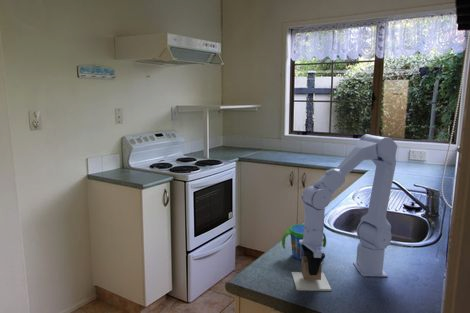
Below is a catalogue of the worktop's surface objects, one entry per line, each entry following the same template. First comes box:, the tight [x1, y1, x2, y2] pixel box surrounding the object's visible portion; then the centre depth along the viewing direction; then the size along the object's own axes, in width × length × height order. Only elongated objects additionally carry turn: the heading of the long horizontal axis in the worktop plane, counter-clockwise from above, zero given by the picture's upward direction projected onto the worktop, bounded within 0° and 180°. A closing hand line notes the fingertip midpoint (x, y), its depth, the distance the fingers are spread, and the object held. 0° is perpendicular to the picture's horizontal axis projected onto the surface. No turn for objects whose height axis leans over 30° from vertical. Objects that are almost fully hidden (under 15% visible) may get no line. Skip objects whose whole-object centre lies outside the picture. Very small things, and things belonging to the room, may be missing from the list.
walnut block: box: [300, 256, 323, 280], centre depth 110 cm, size 5×5×5 cm
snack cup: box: [281, 223, 327, 261], centre depth 128 cm, size 16×10×10 cm
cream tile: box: [291, 271, 332, 292], centre depth 111 cm, size 10×10×1 cm
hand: (311, 270), depth 110 cm, fingers closed on walnut block, 5 cm apart
